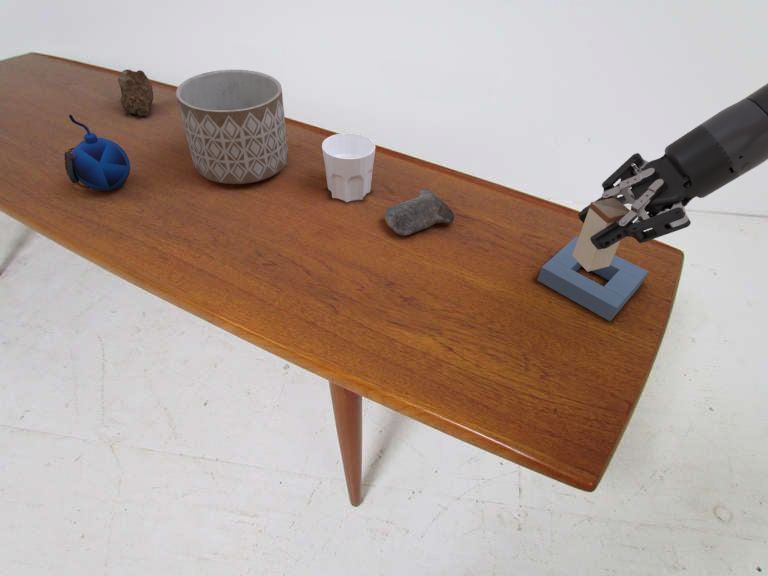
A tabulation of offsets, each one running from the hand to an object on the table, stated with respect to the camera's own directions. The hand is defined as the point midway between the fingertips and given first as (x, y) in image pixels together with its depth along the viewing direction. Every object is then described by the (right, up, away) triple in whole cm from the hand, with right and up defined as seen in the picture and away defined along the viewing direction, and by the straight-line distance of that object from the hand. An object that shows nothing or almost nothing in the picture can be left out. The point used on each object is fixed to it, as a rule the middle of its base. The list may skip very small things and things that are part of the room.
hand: (588, 231), depth 66 cm
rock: (-86, +36, +57) cm, 109 cm away
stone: (-21, +5, +28) cm, 36 cm away
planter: (-57, +18, +40) cm, 72 cm away
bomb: (-81, +12, +32) cm, 88 cm away
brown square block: (+2, -4, +4) cm, 5 cm away
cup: (-34, +12, +35) cm, 50 cm away
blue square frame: (+7, -7, +18) cm, 20 cm away
